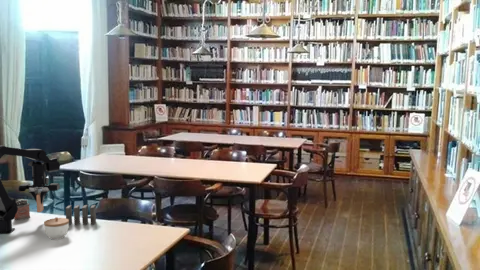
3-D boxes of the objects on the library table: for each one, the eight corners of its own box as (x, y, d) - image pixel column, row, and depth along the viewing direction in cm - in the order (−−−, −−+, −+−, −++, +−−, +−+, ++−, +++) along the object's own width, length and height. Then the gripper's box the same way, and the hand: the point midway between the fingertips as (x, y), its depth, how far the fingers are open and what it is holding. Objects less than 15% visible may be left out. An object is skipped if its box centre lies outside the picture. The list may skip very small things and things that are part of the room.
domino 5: (93, 224, 228) (93, 207, 227) (90, 224, 228) (90, 207, 227) (95, 221, 233) (95, 204, 232) (92, 222, 233) (92, 205, 232)
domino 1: (40, 212, 228) (39, 194, 227) (37, 212, 228) (36, 194, 227) (43, 209, 233) (42, 192, 232) (40, 209, 233) (39, 192, 232)
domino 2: (69, 225, 227) (68, 207, 226) (66, 225, 227) (65, 208, 226) (72, 222, 232) (71, 205, 231) (68, 222, 232) (68, 205, 231)
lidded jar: (74, 234, 213) (73, 215, 212) (60, 242, 202) (59, 221, 201) (53, 233, 215) (53, 213, 214) (39, 240, 204) (38, 220, 203)
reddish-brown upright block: (28, 216, 242) (27, 198, 241) (31, 217, 240) (30, 199, 239) (13, 219, 236) (12, 201, 235) (16, 220, 234) (15, 202, 233)
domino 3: (77, 225, 227) (77, 207, 226) (74, 225, 227) (73, 207, 226) (80, 222, 232) (79, 205, 231) (76, 222, 232) (76, 205, 231)
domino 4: (85, 225, 228) (85, 207, 227) (82, 225, 227) (82, 207, 227) (88, 222, 233) (87, 205, 232) (84, 222, 232) (84, 205, 232)
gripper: (62, 170, 237) (63, 199, 239) (25, 171, 235) (26, 200, 237) (56, 174, 226) (57, 204, 228) (17, 175, 224) (18, 205, 226)
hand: (39, 203), depth 230 cm, fingers closed on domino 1, 2 cm apart
